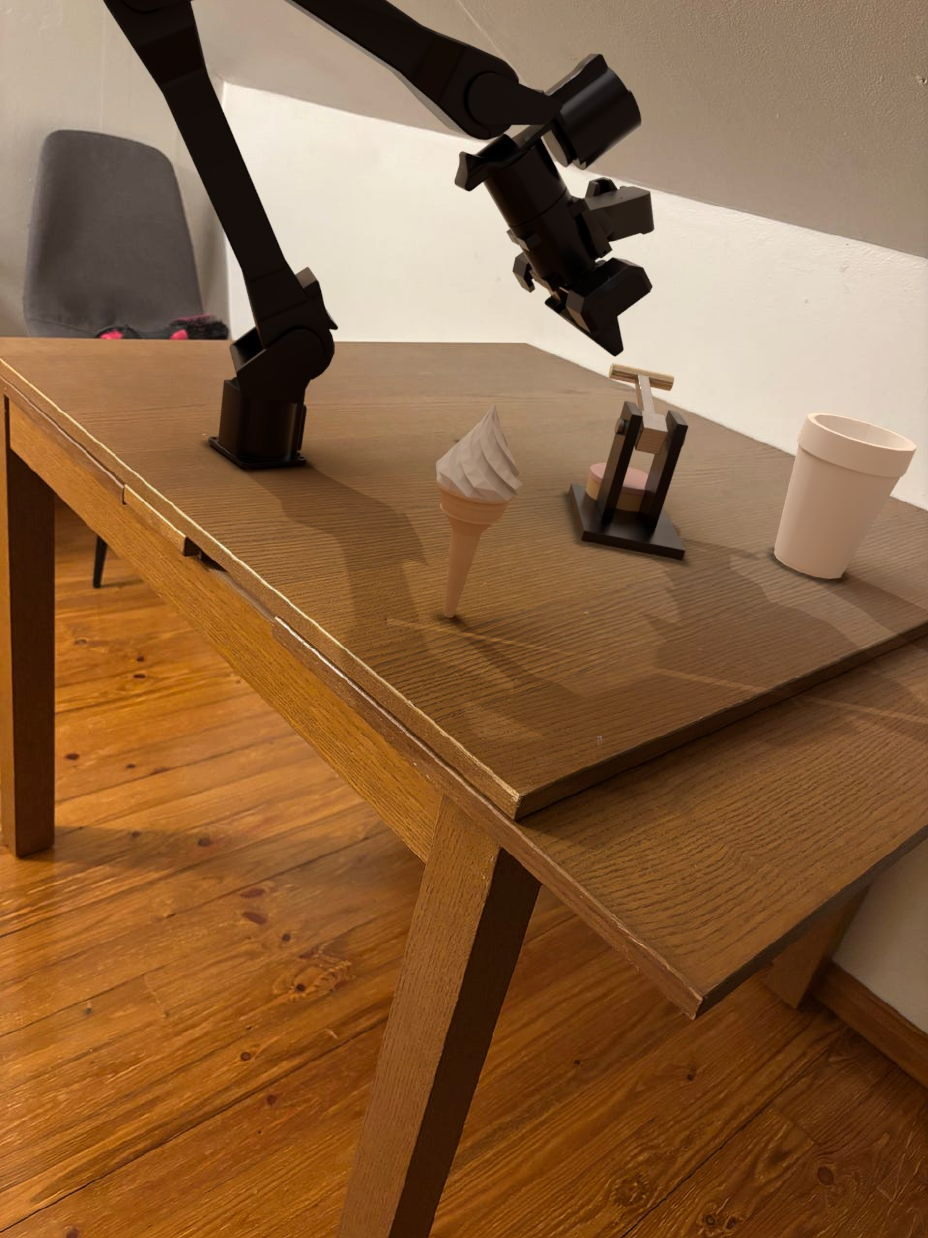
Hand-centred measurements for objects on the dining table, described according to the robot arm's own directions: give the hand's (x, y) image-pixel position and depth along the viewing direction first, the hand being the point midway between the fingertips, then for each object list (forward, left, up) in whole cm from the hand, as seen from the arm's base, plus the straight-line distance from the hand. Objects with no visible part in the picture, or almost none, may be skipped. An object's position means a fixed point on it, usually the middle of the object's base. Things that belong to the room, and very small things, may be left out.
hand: (618, 352), depth 91 cm
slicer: (-4, -9, -13) cm, 16 cm away
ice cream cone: (-32, -17, -14) cm, 38 cm away
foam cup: (+9, -21, -14) cm, 26 cm away
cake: (-1, -5, -13) cm, 14 cm away
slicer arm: (0, -5, -4) cm, 7 cm away
